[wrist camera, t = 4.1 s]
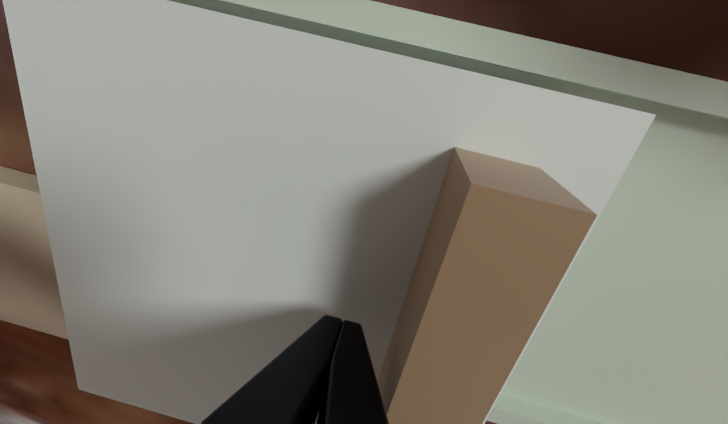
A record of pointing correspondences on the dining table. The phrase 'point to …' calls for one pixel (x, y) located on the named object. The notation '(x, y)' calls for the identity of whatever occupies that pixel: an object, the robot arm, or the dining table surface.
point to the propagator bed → (612, 230)
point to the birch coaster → (27, 258)
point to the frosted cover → (298, 203)
